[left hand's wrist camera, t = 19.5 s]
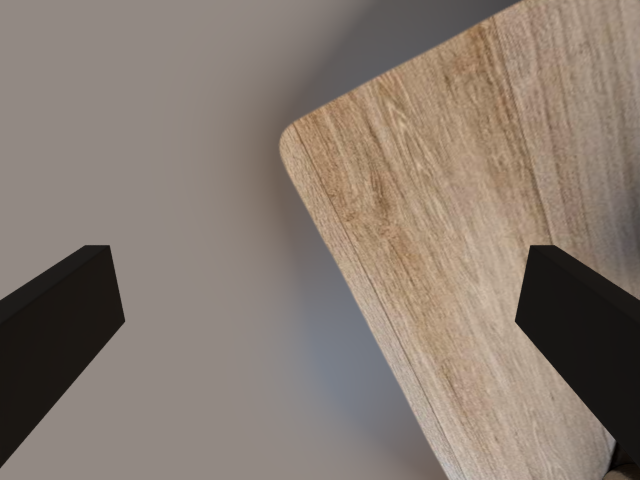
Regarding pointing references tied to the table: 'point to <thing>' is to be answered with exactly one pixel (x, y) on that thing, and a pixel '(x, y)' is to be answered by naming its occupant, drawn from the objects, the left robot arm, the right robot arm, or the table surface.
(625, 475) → the tin
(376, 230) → the table surface
